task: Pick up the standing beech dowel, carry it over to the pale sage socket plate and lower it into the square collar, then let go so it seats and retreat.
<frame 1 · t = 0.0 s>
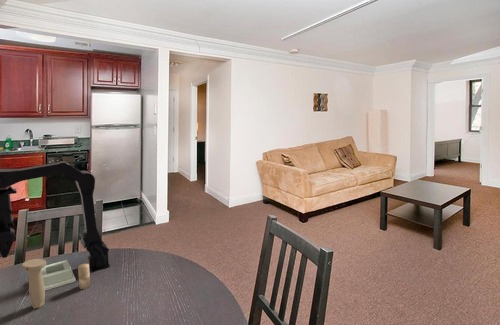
hand: (4, 252, 97), 15 cm above the table, fingers open, 9 cm apart
handle: (38, 306, 92), on the table
dowel: (84, 286, 103), on the table
socket plate: (56, 279, 107), on the table
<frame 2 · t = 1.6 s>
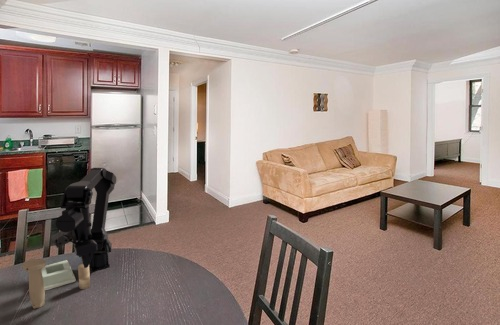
hand: (83, 261, 102), 9 cm above the table, fingers open, 9 cm apart
nothing on the table moved.
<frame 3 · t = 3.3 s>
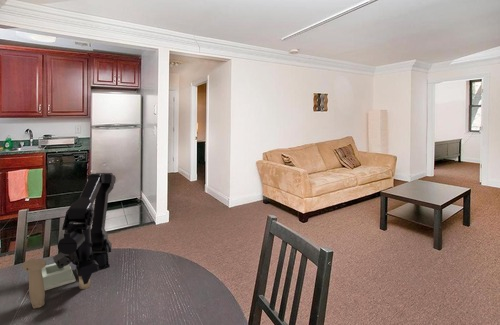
hand: (84, 281, 103), 2 cm above the table, fingers closed on dowel, 3 cm apart
dowel: (84, 286, 103), on the table, touching gripper
everything else where it was.
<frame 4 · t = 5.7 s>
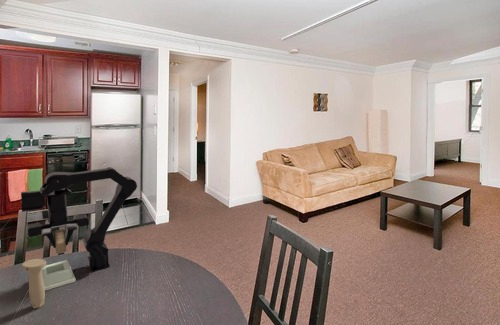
hand: (60, 246, 107), 12 cm above the table, fingers closed on dowel, 3 cm apart
dowel: (61, 251, 108), point 10 cm above the table, touching gripper
everything else where it was.
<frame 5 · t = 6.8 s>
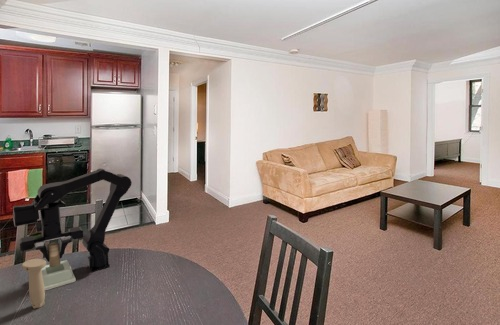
hand: (54, 259, 106), 8 cm above the table, fingers closed on dowel, 3 cm apart
dowel: (55, 264, 106), point 6 cm above the table, touching gripper
everything else where it was.
when the fingers open (5 cm above the table, at t = 7.9 s): dowel drops 3 cm, resting in socket plate.
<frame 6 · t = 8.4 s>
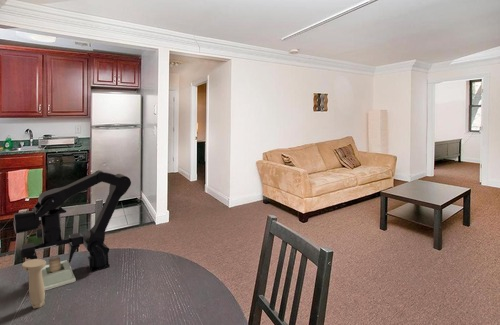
hand: (54, 266, 106), 5 cm above the table, fingers open, 9 cm apart
dowel: (56, 279, 107), resting in socket plate
everything else where it was.
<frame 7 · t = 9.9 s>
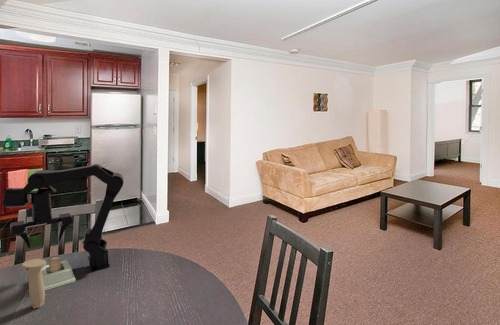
hand: (44, 244, 108), 12 cm above the table, fingers open, 9 cm apart
nothing on the table moved.
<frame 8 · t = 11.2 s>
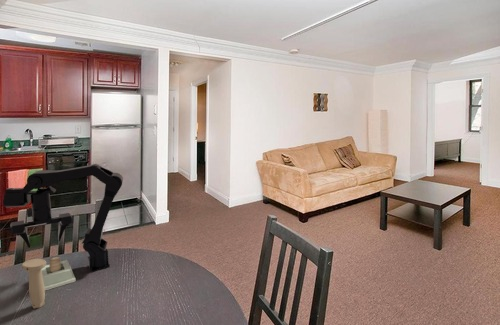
hand: (44, 244, 109), 12 cm above the table, fingers open, 9 cm apart
nothing on the table moved.
at the end: dowel 0.1 cm off-centre on the socket plate, point 0.0 cm above the socket plate's base; dowel tilted 1°; the gripper is holding nothing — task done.
